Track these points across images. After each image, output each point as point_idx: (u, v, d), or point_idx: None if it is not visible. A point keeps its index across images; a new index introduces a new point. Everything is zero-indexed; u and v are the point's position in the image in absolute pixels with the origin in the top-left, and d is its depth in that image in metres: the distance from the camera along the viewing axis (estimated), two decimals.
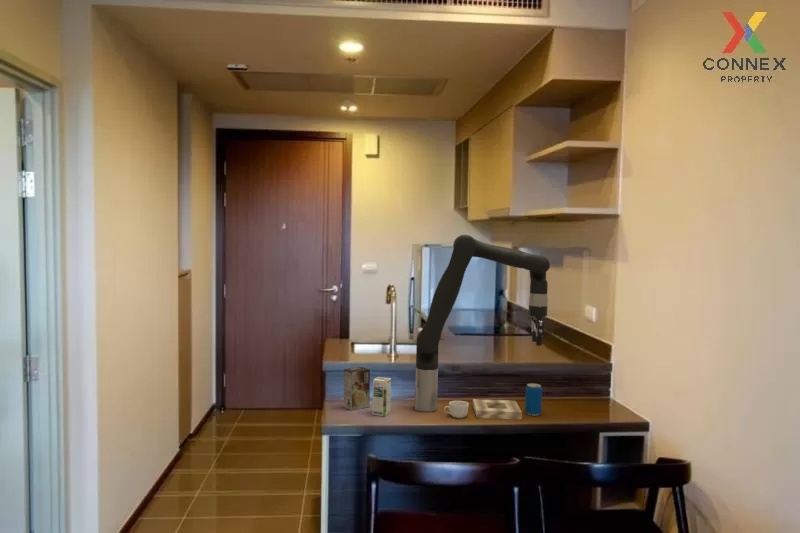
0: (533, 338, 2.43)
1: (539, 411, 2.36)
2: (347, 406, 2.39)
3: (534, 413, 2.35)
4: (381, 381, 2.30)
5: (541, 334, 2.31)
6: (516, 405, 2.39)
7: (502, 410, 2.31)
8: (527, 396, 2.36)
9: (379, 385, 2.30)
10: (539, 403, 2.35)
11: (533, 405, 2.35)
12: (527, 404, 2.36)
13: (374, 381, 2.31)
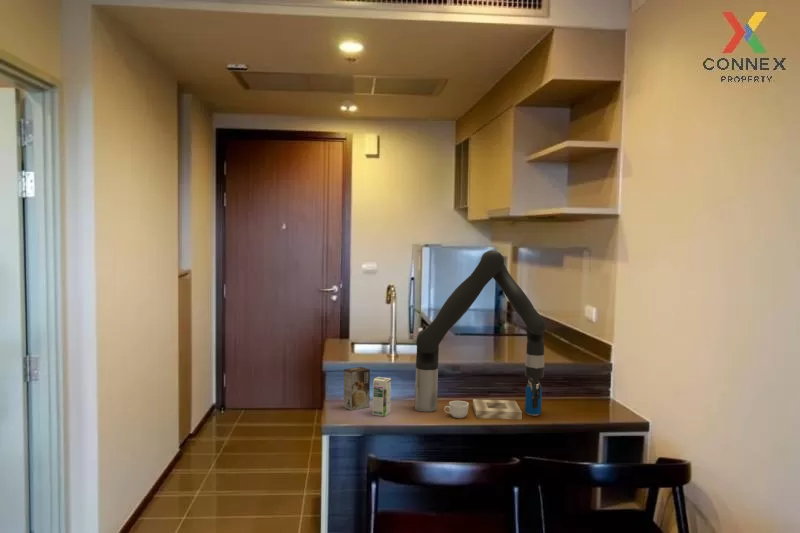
0: None
1: (539, 411, 2.36)
2: (347, 406, 2.39)
3: (534, 413, 2.35)
4: (381, 381, 2.30)
5: (537, 397, 2.32)
6: (516, 405, 2.39)
7: (502, 410, 2.31)
8: (527, 396, 2.36)
9: (379, 385, 2.30)
10: (539, 403, 2.35)
11: None
12: (527, 404, 2.36)
13: (374, 381, 2.31)
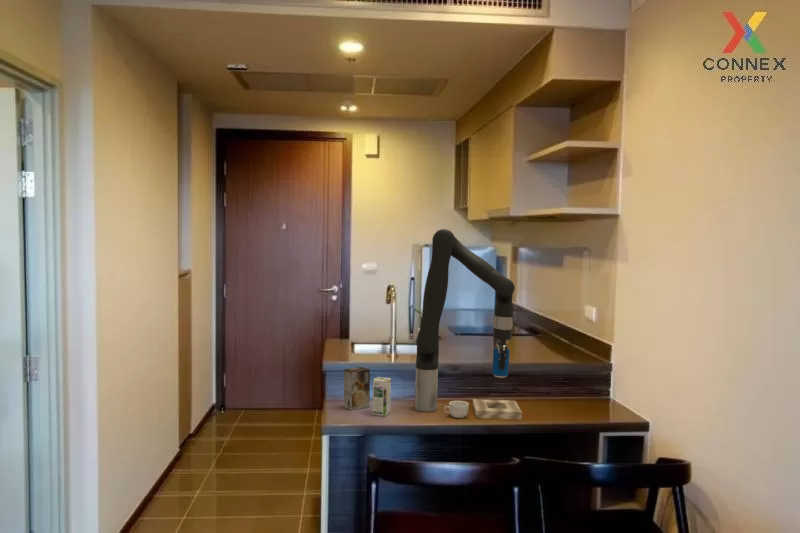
0: None
1: (506, 373, 2.35)
2: (347, 406, 2.39)
3: (501, 375, 2.35)
4: (381, 381, 2.30)
5: (504, 358, 2.31)
6: (516, 405, 2.39)
7: (502, 410, 2.31)
8: (494, 358, 2.36)
9: (379, 385, 2.30)
10: (506, 365, 2.35)
11: None
12: (494, 366, 2.36)
13: (374, 381, 2.31)
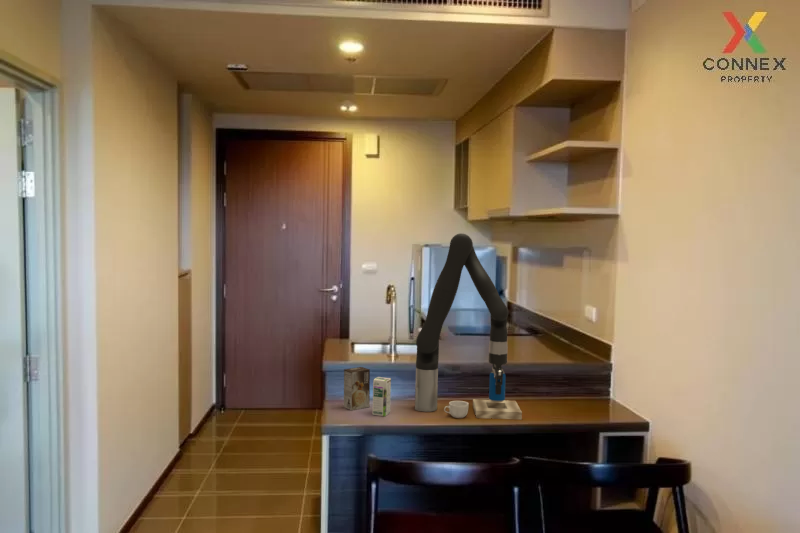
0: None
1: (502, 397, 2.36)
2: (347, 406, 2.39)
3: (497, 399, 2.35)
4: (381, 381, 2.30)
5: (500, 383, 2.32)
6: (516, 405, 2.39)
7: (502, 410, 2.31)
8: (491, 383, 2.37)
9: (379, 385, 2.30)
10: (502, 389, 2.36)
11: None
12: (491, 391, 2.37)
13: (374, 381, 2.31)
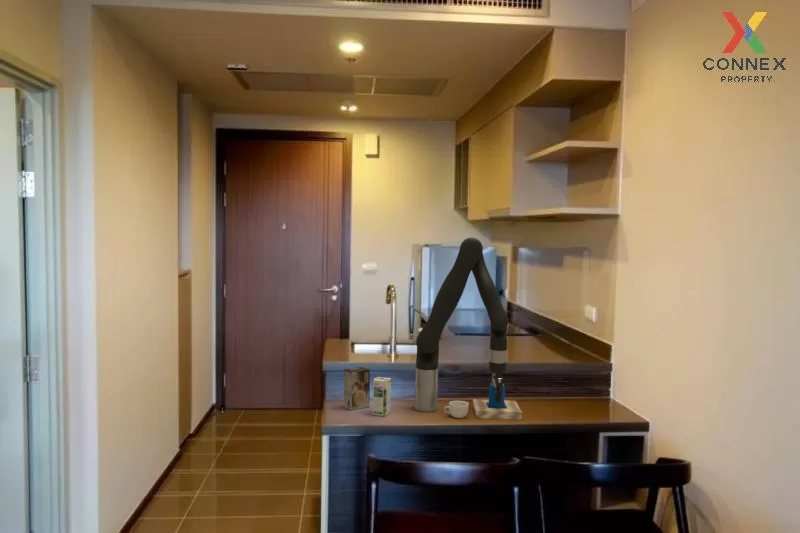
0: None
1: None
2: (347, 406, 2.39)
3: None
4: (381, 381, 2.30)
5: (500, 391, 2.31)
6: (516, 405, 2.39)
7: (502, 410, 2.31)
8: (490, 395, 2.37)
9: (379, 386, 2.30)
10: (502, 402, 2.36)
11: (496, 404, 2.35)
12: (490, 403, 2.37)
13: (374, 381, 2.31)
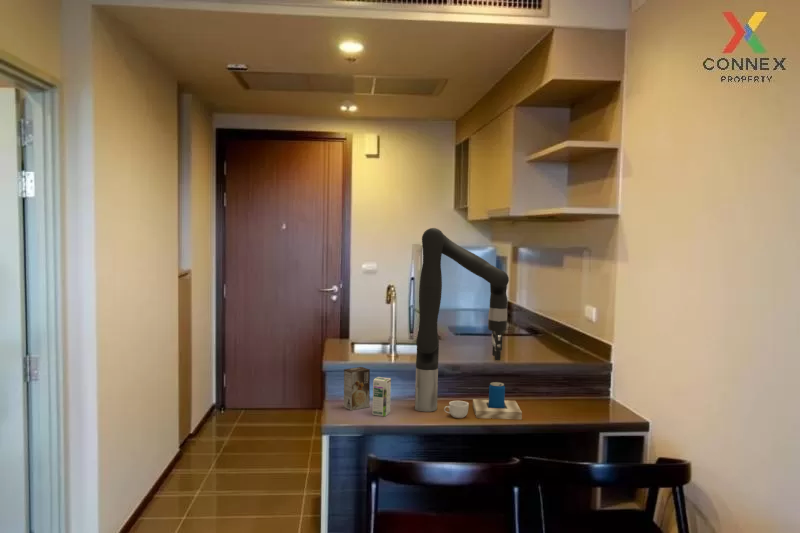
0: (493, 352, 2.42)
1: None
2: (347, 406, 2.39)
3: None
4: (381, 381, 2.30)
5: (499, 349, 2.31)
6: (516, 405, 2.39)
7: (502, 410, 2.31)
8: (490, 395, 2.37)
9: (379, 385, 2.30)
10: (502, 402, 2.36)
11: (496, 404, 2.35)
12: (490, 403, 2.37)
13: (374, 381, 2.31)
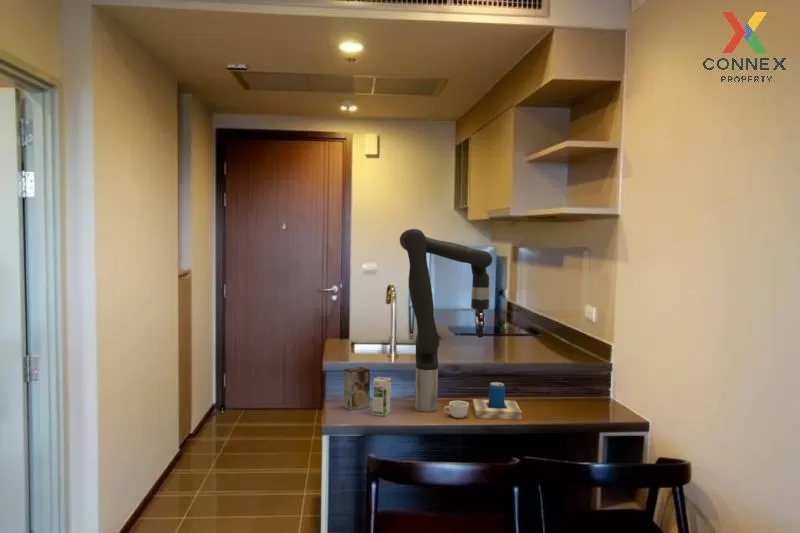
0: (476, 330, 2.51)
1: None
2: (347, 406, 2.39)
3: None
4: (381, 381, 2.30)
5: (482, 326, 2.40)
6: (516, 405, 2.39)
7: (502, 410, 2.31)
8: (490, 395, 2.37)
9: (379, 385, 2.30)
10: (502, 402, 2.36)
11: (496, 404, 2.35)
12: (490, 403, 2.37)
13: (374, 381, 2.31)
